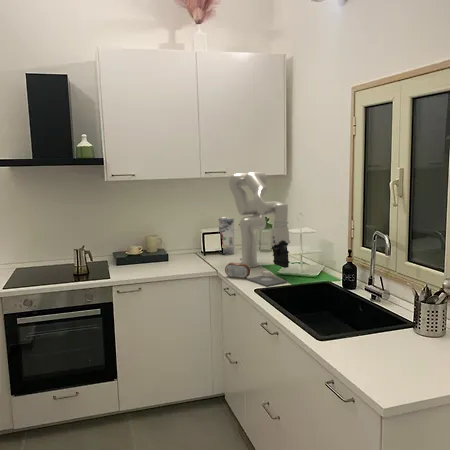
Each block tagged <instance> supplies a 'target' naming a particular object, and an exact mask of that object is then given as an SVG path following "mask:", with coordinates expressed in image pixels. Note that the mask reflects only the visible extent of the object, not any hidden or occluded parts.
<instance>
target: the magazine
mask: <svg viewBox="0 0 450 450" xmlns="http://www.w3.org/2000/svg"><path fill="white" fill-rule="evenodd" d="M286 244H287V243H286V241H281V243H280V244H279V256H276V255H275V249H274V247H273V246H272V245H271V250H272V253H273V254H272V256H273V260H272V262H273V265H276V266H278V267H280V268H283V269H286V268H289V266H290V265H289V264H290V261H289V253H290V252H289V250H288V245H286Z"/></svg>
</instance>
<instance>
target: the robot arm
mask: <svg viewBox="0 0 450 450" xmlns="http://www.w3.org/2000/svg"><path fill="white" fill-rule="evenodd" d="M267 181H268V176H267V175H266V173H265V172H263V171H250V172H237V173H233V174H231V175H230V176H229V179H228V185H229V190H230V192H231V194H232V195H233V199H234V202H235V205H236V209H237V212H238V214H239V215H240V216H244V217H242V218H241V219H240V221H239V228H240V234H241V236H240V237H241V257H240V258H239V261H241V262H240V263H241V264H246V265H247V266H249V268H257V267H259V266H260V263H259V262H258V249H257V246H258V244H257V242H258V241H257V239H258V238H257V236H256V234H255V231H262V230H264V229H265V228H266V226H267V220H266V216H268V215H274V219H273V220H274V221H273V223H274V225H273V227H272V230H271V237H270V238H271V239H270V246H271V247H272V246H273V247H274V249H275V255H276V256H279V244H280V243H281V241H286V243H287V244H286V245H287V246H288V245H289V244H291V240H290V231H289V227H288V224H289V221H288V215H289V214H288V212H289V211H288V208H289V207H288V204H287V203H285V202H280V201H276V200H273V201H272V200H271V201H264V199H263V198H262V197H263V196H265V194H266V193H267V191H268V188H267V186H266V184H267ZM243 187H248V188H249V189H250V190H251V192H252V193H253V194H254V197H253V199H249V197H248V194H247V192H246V190H244V188H243Z"/></svg>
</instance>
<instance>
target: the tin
mask: <svg viewBox="0 0 450 450" xmlns="http://www.w3.org/2000/svg"><path fill="white" fill-rule="evenodd" d="M241 263H242V262H229V263H228V264H226V266H225V268H224V271H225V274H226V275H227V276H228V277H229V278H233V279H234V278H235V279H246V278H249V276H250V275H251V269H250V268H251V267H249V266H247V265H246V264H241Z"/></svg>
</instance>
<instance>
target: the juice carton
mask: <svg viewBox="0 0 450 450" xmlns="http://www.w3.org/2000/svg"><path fill="white" fill-rule="evenodd" d="M219 231H220V235H221V239H222V248H223V253H221V252H220V251H219V254H221V255H224V256H228V255H234V254H235V218H230V217H226V216H222V217H221V218H218V232H219Z"/></svg>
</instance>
